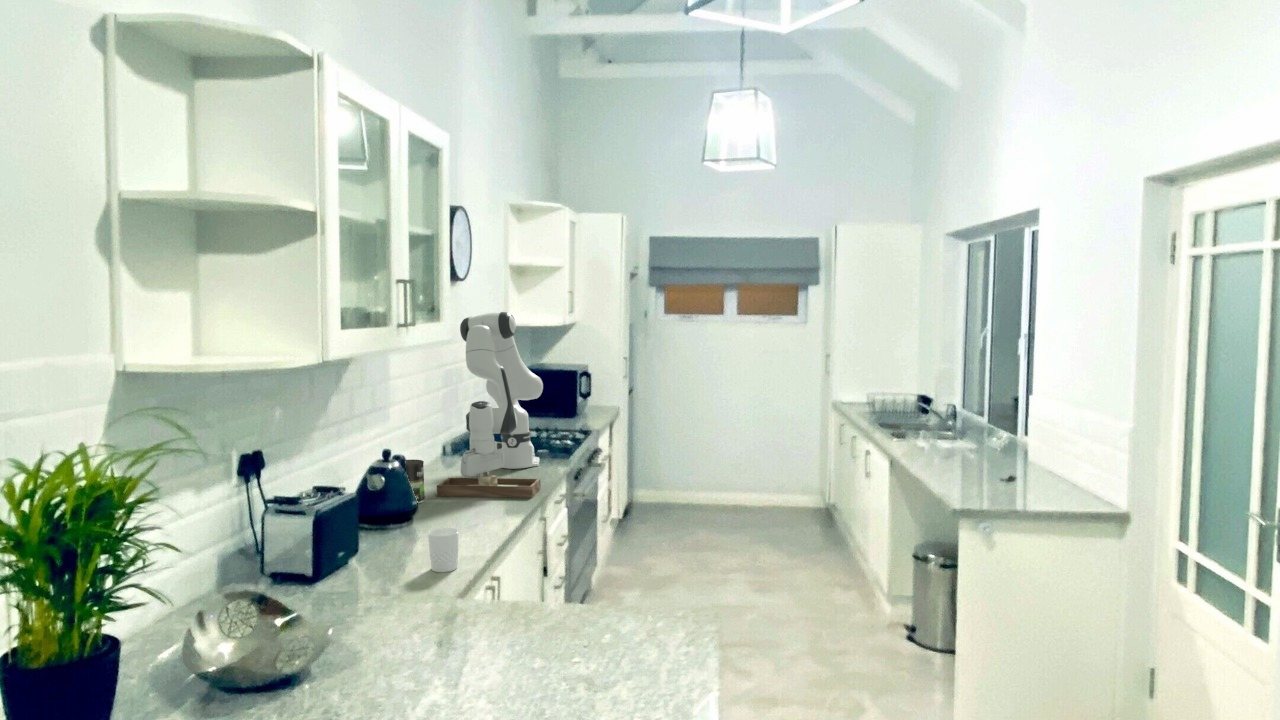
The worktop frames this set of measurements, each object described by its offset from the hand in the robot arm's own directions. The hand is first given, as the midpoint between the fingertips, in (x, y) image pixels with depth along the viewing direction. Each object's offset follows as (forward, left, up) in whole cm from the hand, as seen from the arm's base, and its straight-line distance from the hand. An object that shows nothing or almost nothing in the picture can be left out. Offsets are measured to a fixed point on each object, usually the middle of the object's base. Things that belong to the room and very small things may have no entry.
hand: (483, 484), depth 320 cm
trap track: (0, +2, -3) cm, 4 cm away
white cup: (+85, +15, -3) cm, 87 cm away
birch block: (+2, +3, -1) cm, 3 cm away
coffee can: (+14, -22, -3) cm, 27 cm away
